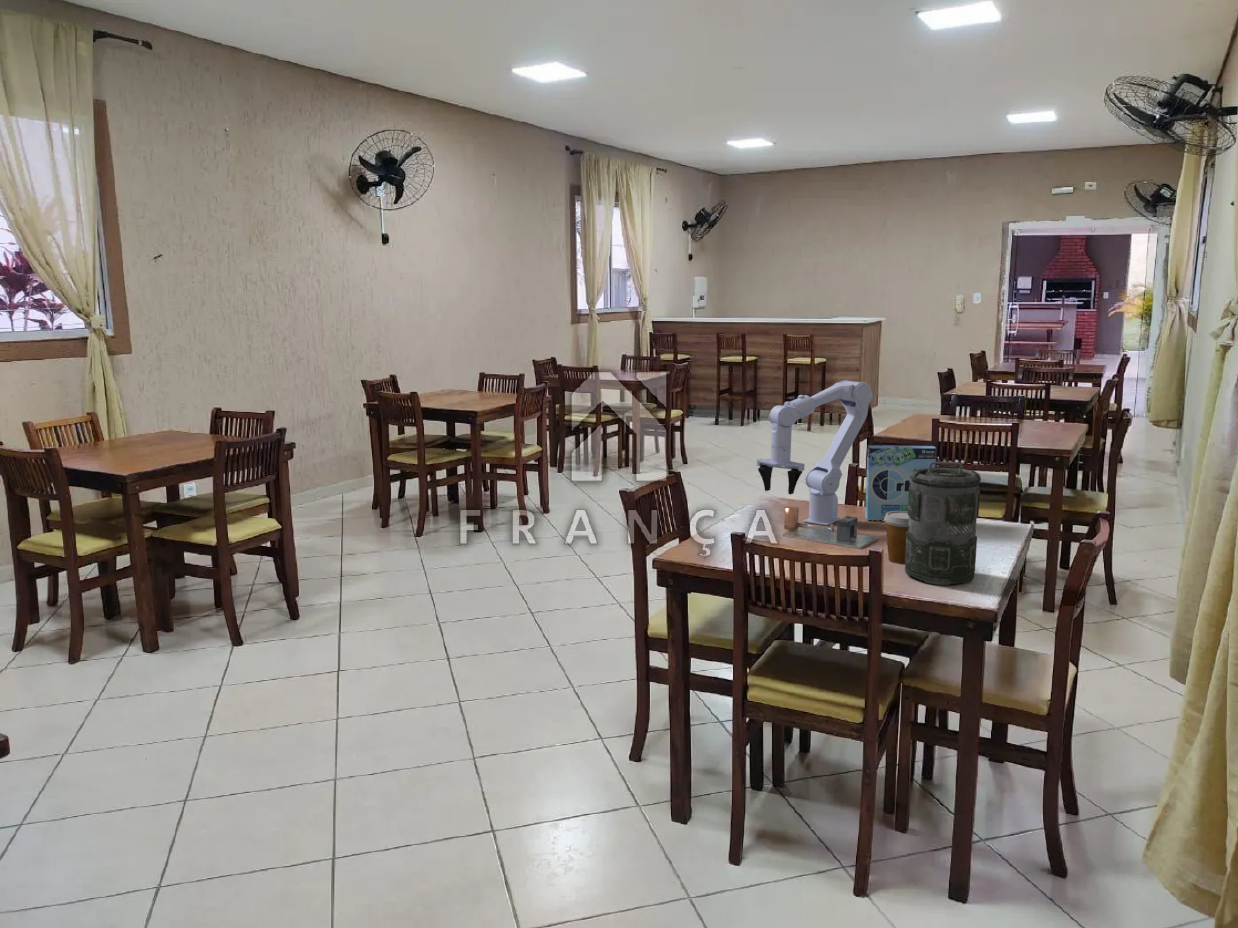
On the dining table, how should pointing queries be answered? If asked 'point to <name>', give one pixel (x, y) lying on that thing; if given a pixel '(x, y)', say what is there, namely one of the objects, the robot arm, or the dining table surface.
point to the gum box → (892, 476)
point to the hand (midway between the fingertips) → (779, 492)
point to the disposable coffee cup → (896, 535)
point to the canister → (942, 524)
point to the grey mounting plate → (835, 534)
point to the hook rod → (793, 524)
